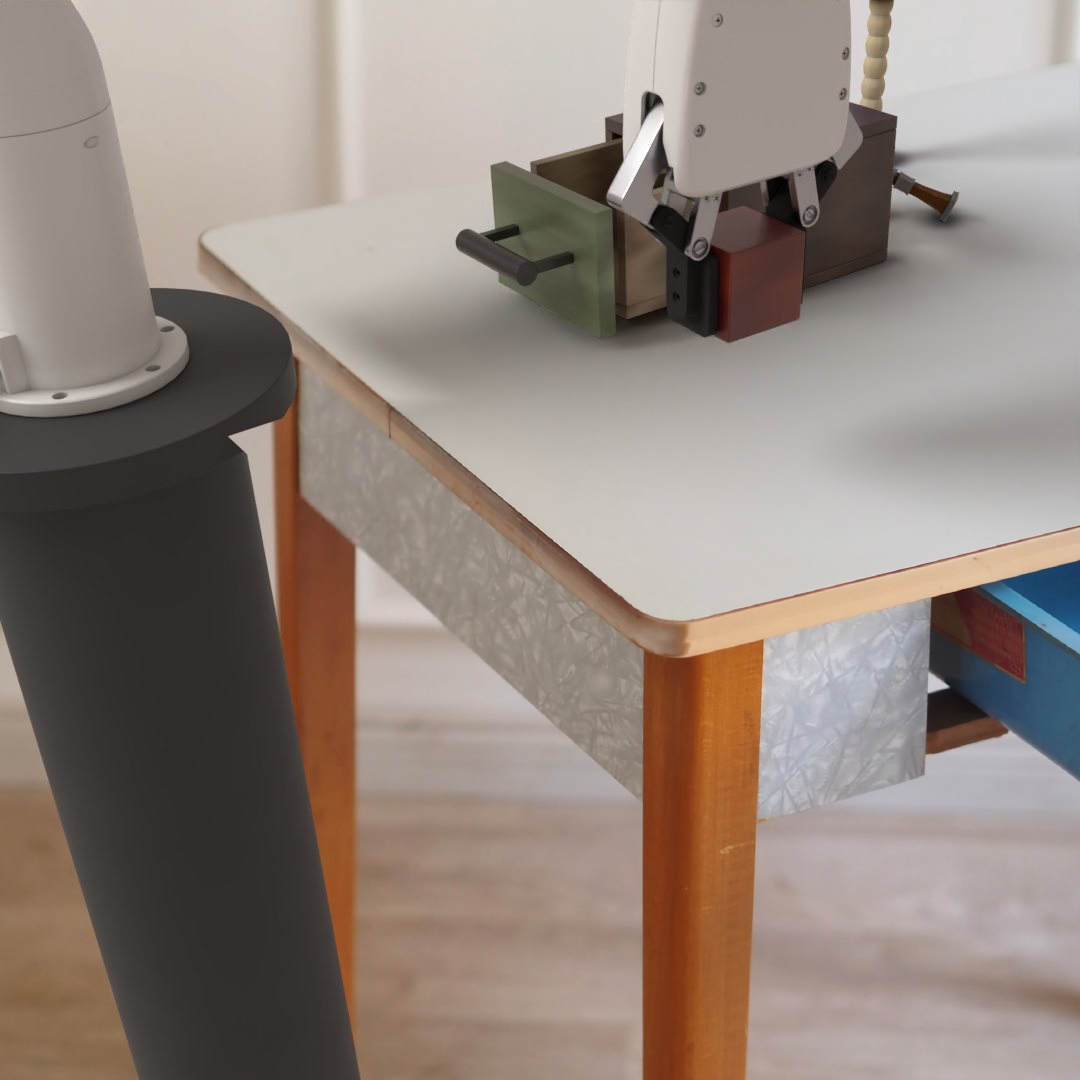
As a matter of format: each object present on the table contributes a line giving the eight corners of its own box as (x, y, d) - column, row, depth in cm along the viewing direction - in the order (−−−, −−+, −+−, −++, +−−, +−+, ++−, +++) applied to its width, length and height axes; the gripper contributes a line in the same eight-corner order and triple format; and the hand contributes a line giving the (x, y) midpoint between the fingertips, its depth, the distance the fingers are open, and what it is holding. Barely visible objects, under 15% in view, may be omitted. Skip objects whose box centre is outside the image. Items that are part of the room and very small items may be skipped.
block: (728, 344, 71) (731, 254, 68) (669, 313, 74) (670, 226, 71) (800, 319, 73) (805, 231, 70) (740, 290, 76) (743, 204, 73)
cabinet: (727, 315, 93) (729, 164, 88) (608, 257, 102) (604, 117, 97) (887, 260, 99) (897, 115, 94) (762, 210, 108) (765, 76, 103)
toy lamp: (893, 149, 118) (910, -77, 109) (908, 168, 114) (927, -64, 105) (832, 153, 118) (844, -72, 109) (846, 172, 114) (859, -60, 105)
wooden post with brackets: (828, 194, 107) (857, 138, 105) (928, 244, 107) (960, 189, 104) (824, 202, 106) (854, 146, 103) (926, 253, 106) (958, 198, 103)
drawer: (541, 359, 87) (534, 231, 83) (443, 299, 95) (431, 179, 91) (762, 285, 94) (765, 164, 90) (652, 235, 103) (651, 122, 98)
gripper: (836, -122, 70) (812, 249, 80) (532, -70, 62) (548, 332, 72) (957, -102, 64) (915, 293, 74) (640, -42, 57) (641, 389, 67)
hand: (734, 309), depth 73 cm, fingers closed on block, 4 cm apart
